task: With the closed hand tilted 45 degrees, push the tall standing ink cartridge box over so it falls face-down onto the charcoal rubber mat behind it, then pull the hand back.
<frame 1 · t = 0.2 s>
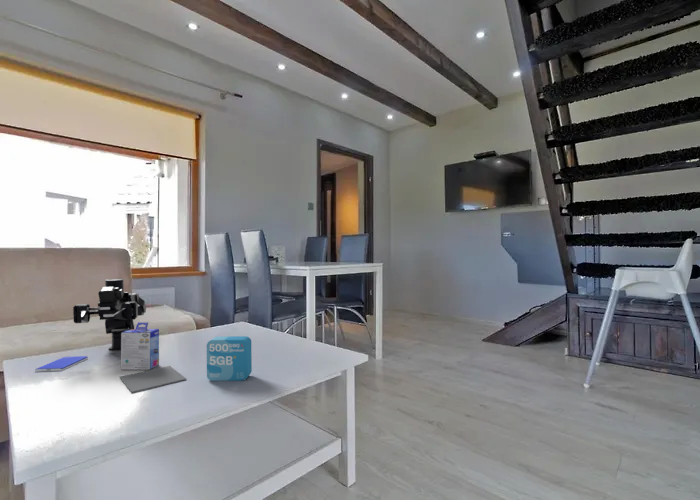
hand: (98, 317, 116), 16 cm above the table, tool horizontal, fingers open, 9 cm apart
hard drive: (62, 367, 118), on the table
data package: (229, 378, 105), on the table
ink cartridge box: (140, 368, 115), on the table
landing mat: (152, 378, 105), on the table
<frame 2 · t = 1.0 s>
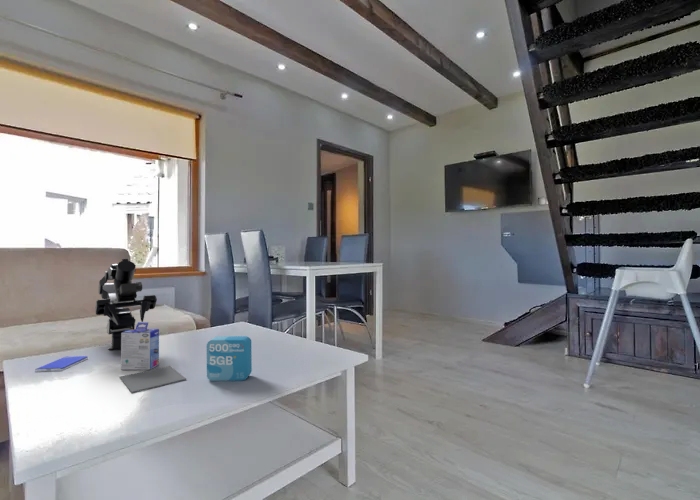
hand: (130, 322, 125), 13 cm above the table, tool tilted 45°, fingers open, 7 cm apart
nothing on the table moved.
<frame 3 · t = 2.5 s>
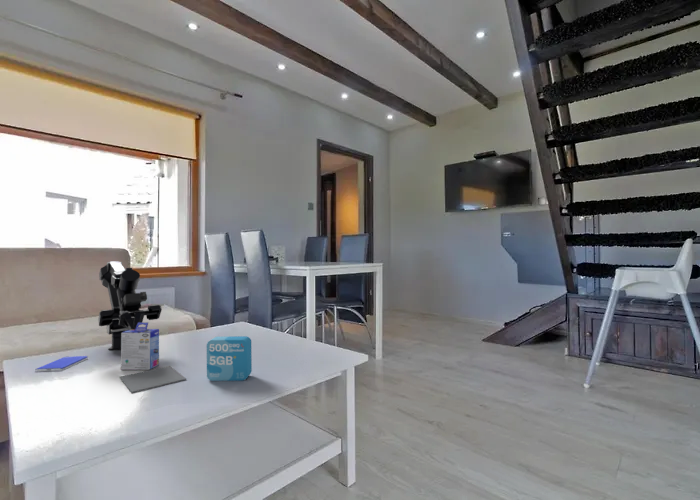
hand: (135, 334, 121), 10 cm above the table, tool tilted 45°, fingers closed
nothing on the table moved.
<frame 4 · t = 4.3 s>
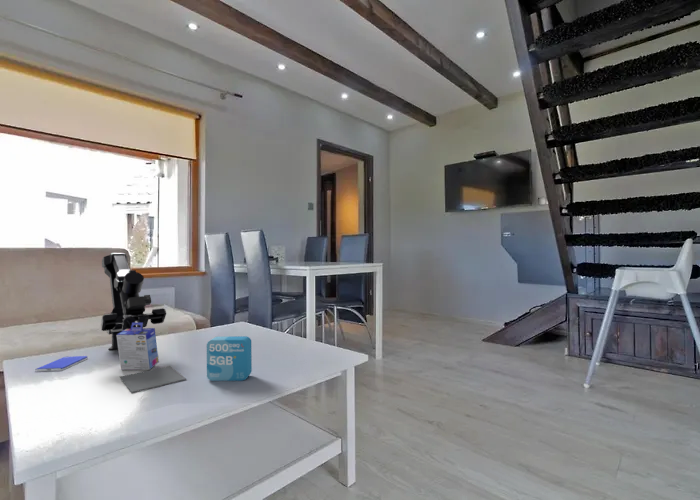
hand: (139, 339, 117), 9 cm above the table, tool tilted 45°, fingers closed
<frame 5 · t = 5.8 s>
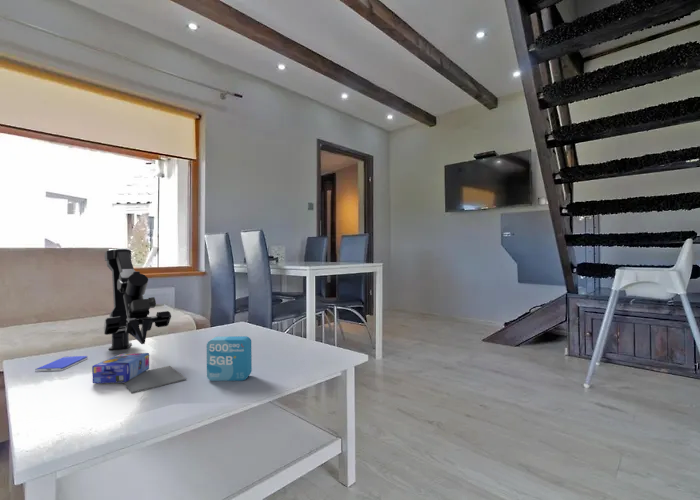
hand: (143, 343, 112), 9 cm above the table, tool tilted 45°, fingers closed
ink cartridge box: (135, 360, 112), point 3 cm above the table, touching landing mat
everything else where it was.
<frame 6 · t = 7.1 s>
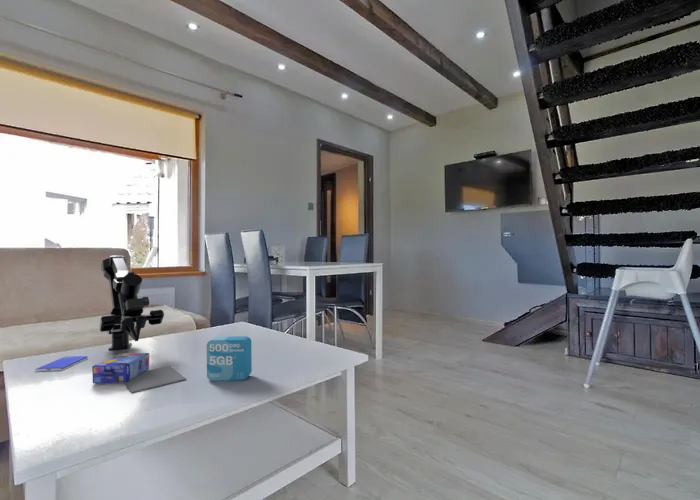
hand: (137, 340, 118), 8 cm above the table, tool tilted 45°, fingers closed
nothing on the table moved.
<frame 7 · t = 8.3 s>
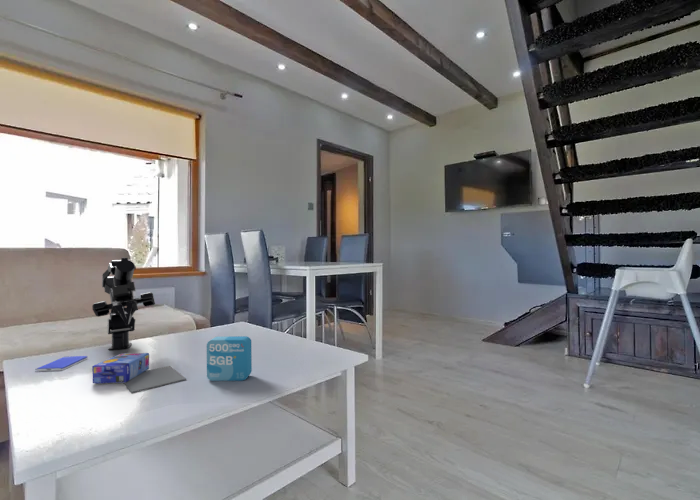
hand: (127, 324, 124), 12 cm above the table, tool tilted 40°, fingers closed
nothing on the table moved.
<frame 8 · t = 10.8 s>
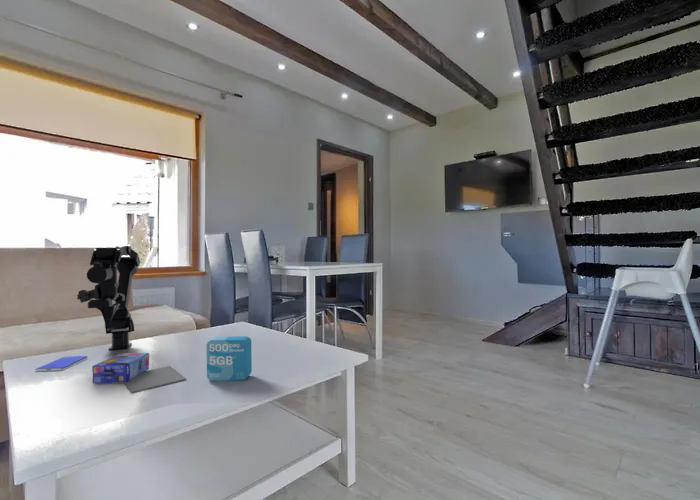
hand: (107, 324, 126), 12 cm above the table, tool pointing down, fingers closed
nothing on the table moved.
at the end: ink cartridge box tilted 91°; ink cartridge box inside the target area (6.5 cm from its centre), point 3.1 cm above the table; ink cartridge box touching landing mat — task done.
